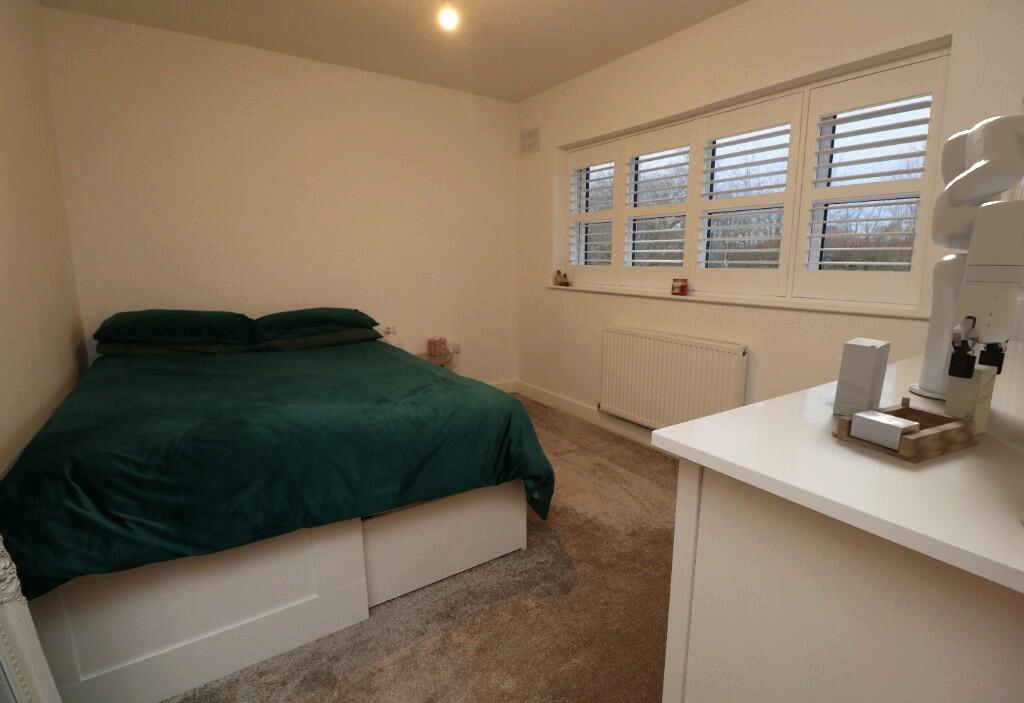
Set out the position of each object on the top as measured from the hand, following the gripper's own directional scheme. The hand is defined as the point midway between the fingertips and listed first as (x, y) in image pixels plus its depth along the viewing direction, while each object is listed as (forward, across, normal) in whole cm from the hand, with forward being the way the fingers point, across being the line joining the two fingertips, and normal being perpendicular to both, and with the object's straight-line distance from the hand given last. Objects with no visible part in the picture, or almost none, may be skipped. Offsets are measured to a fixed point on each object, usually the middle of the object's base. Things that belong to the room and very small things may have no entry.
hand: (974, 375), depth 85 cm
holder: (+11, +13, -3) cm, 18 cm away
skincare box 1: (+11, +6, -14) cm, 19 cm away
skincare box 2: (+11, -1, -1) cm, 11 cm away
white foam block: (+10, +20, -3) cm, 23 cm away
